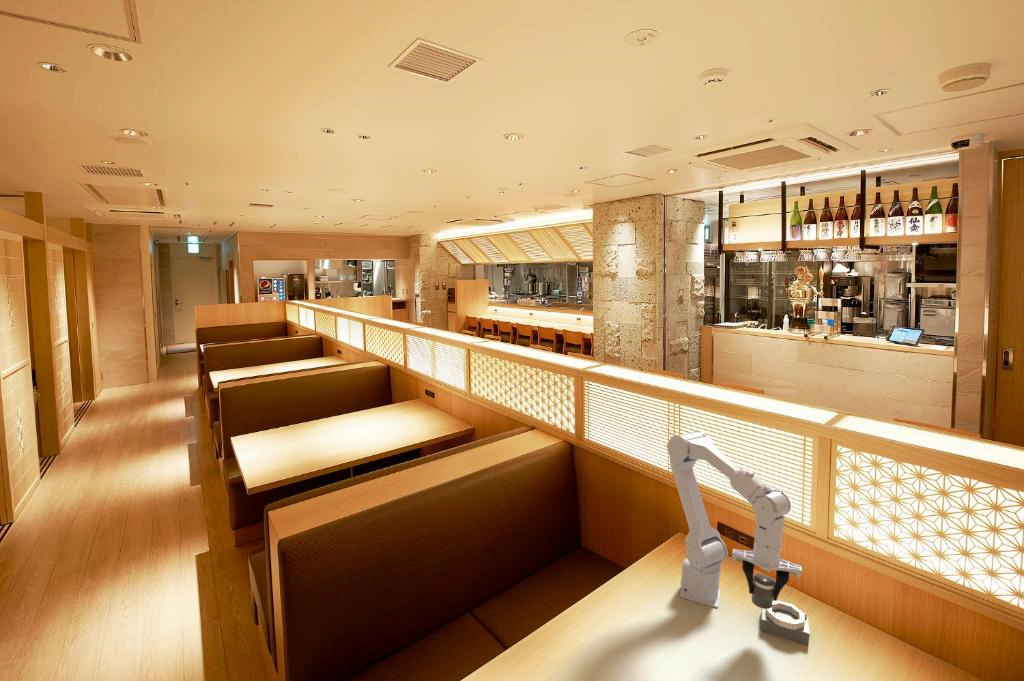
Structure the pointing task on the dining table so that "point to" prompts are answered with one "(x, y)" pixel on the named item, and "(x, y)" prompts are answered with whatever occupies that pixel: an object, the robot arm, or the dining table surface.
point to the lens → (763, 591)
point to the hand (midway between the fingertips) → (762, 594)
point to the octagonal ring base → (786, 622)
